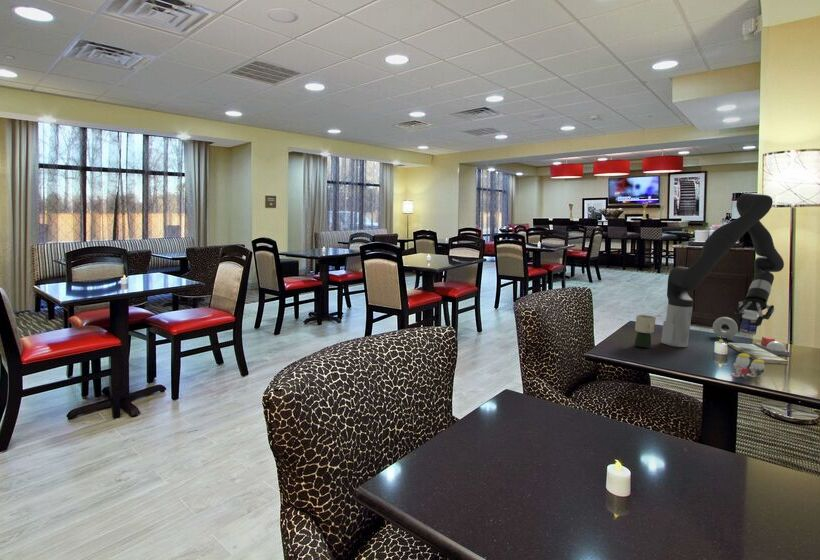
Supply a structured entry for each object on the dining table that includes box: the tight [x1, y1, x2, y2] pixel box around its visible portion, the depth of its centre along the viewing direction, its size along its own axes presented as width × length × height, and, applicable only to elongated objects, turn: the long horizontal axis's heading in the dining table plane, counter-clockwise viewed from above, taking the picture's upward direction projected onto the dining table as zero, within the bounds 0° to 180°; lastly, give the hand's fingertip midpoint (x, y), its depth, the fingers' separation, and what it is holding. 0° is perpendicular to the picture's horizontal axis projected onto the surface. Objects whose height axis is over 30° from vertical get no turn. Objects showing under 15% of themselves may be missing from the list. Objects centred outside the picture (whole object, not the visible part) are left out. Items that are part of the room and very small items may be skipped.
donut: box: [712, 316, 739, 340], centre depth 218 cm, size 10×4×10 cm, turn 39°
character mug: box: [634, 314, 656, 349], centre depth 198 cm, size 11×7×13 cm, turn 0°
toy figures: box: [730, 352, 766, 378], centre depth 167 cm, size 12×4×8 cm, turn 97°
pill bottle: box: [739, 310, 759, 336], centre depth 202 cm, size 6×6×10 cm
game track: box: [727, 342, 789, 365], centre depth 196 cm, size 23×10×1 cm, turn 174°
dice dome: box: [753, 336, 791, 357], centre depth 201 cm, size 12×7×6 cm, turn 174°
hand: (748, 323), depth 200 cm, fingers closed on pill bottle, 5 cm apart
